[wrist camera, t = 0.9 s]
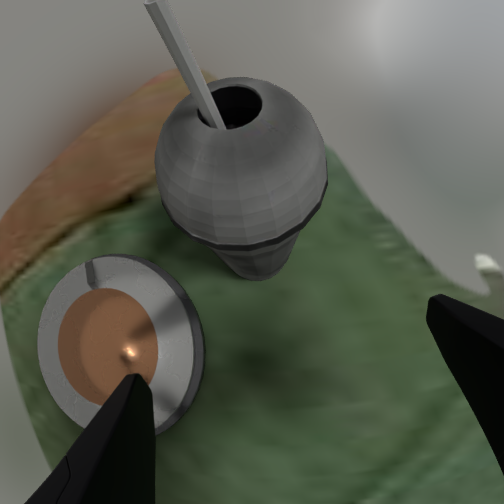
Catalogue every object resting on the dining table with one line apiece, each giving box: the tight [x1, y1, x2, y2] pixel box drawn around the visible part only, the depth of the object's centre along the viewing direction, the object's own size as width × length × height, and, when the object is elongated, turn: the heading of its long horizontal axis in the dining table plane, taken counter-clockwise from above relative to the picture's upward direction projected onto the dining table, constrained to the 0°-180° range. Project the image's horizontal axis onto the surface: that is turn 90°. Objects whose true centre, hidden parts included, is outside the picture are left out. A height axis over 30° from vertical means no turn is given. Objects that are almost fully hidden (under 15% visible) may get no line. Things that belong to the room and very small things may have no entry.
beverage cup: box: [144, 0, 328, 281], centre depth 15 cm, size 7×7×20 cm
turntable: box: [38, 257, 196, 428], centre depth 21 cm, size 14×14×1 cm
